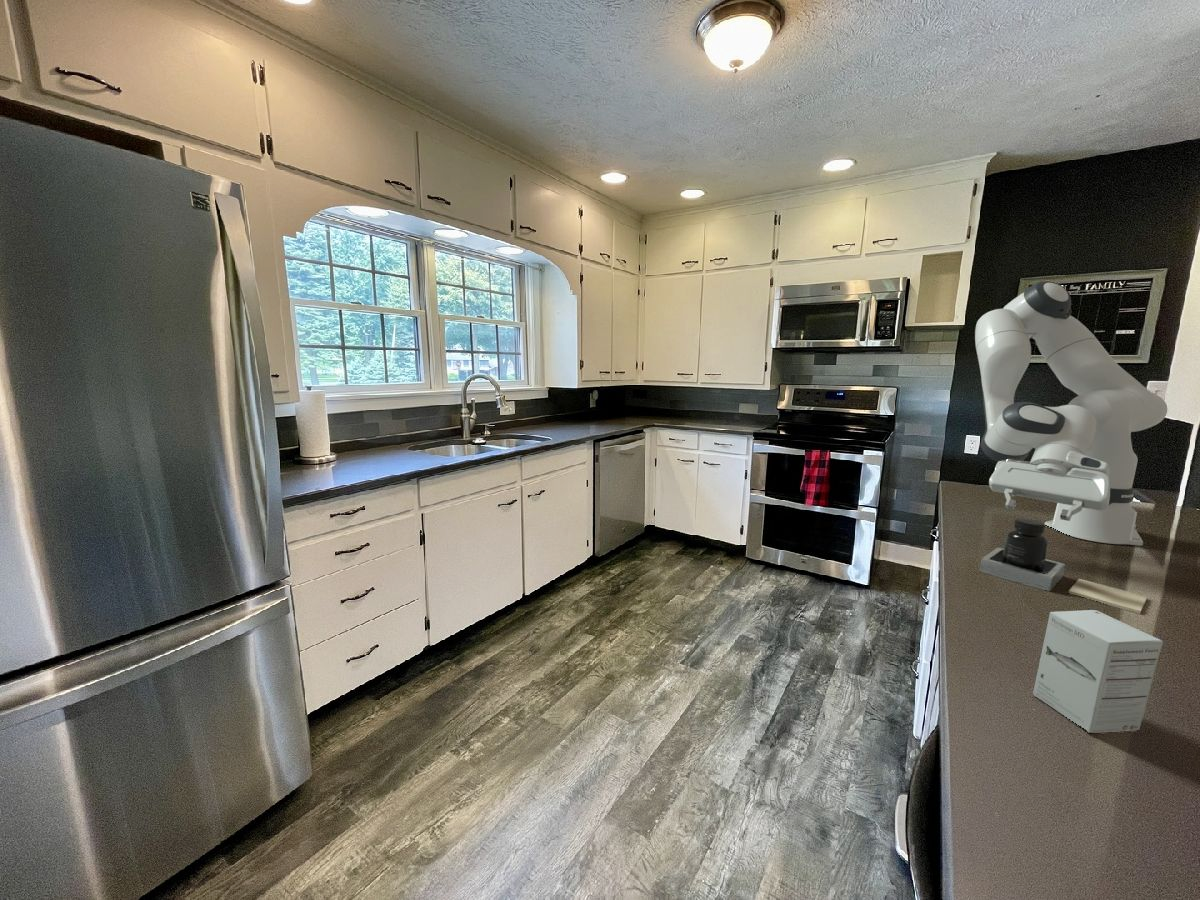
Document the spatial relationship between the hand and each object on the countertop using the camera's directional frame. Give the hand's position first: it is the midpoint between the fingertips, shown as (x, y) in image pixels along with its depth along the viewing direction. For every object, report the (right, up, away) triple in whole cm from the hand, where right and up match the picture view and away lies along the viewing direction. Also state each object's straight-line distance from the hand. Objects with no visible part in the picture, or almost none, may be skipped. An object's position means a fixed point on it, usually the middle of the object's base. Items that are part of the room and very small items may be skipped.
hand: (1036, 513), depth 107 cm
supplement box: (-34, -20, -44) cm, 60 cm away
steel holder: (-6, -13, -3) cm, 15 cm away
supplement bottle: (-6, -13, -3) cm, 15 cm away
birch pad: (+3, -15, -13) cm, 20 cm away
